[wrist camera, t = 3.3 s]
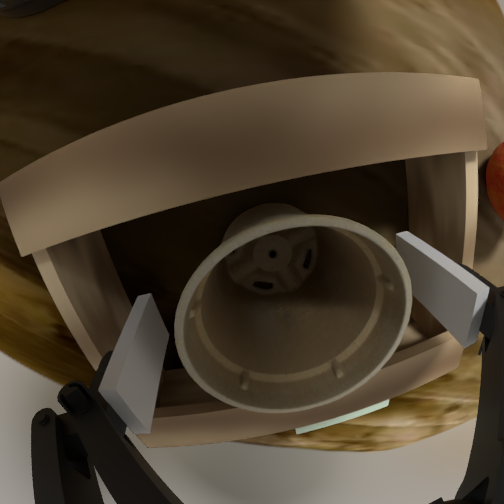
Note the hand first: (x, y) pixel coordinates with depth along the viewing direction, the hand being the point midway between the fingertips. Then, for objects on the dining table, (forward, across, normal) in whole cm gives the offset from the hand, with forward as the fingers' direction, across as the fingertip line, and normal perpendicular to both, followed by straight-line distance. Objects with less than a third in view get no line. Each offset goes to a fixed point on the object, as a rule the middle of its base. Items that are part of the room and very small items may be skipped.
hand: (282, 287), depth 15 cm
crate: (+4, 0, 0) cm, 4 cm away
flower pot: (+4, 0, 0) cm, 4 cm away
